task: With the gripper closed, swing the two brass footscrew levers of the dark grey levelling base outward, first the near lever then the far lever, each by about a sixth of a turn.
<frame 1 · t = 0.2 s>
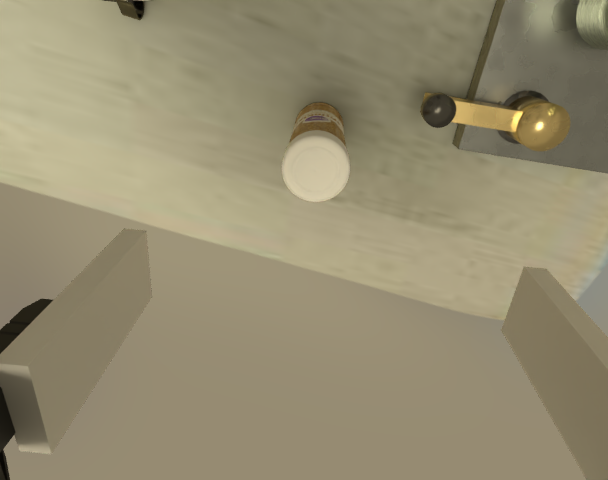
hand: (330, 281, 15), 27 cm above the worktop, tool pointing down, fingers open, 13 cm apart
levelling base: (590, 5, 35), on the worktop
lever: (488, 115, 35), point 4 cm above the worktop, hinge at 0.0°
sprinkles bottle: (318, 126, 40), on the worktop
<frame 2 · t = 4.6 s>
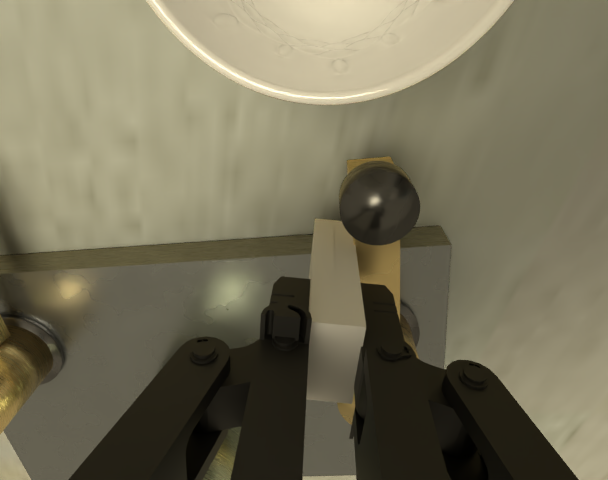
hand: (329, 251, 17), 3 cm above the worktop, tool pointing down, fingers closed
levelling base: (211, 359, 25), on the worktop
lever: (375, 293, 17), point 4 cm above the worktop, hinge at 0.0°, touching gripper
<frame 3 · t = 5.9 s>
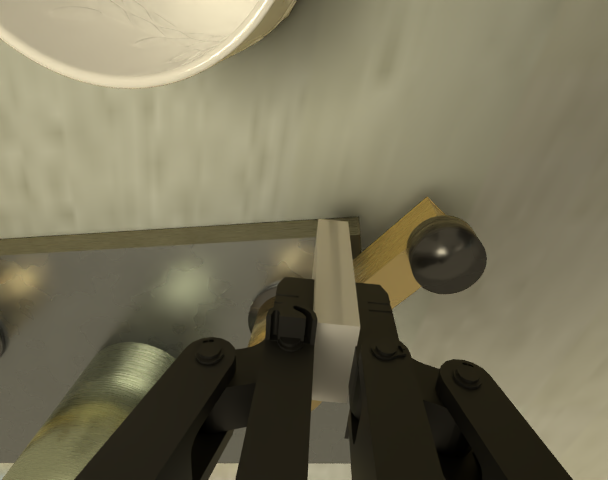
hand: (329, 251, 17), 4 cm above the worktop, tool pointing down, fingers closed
levelling base: (151, 346, 26), on the worktop
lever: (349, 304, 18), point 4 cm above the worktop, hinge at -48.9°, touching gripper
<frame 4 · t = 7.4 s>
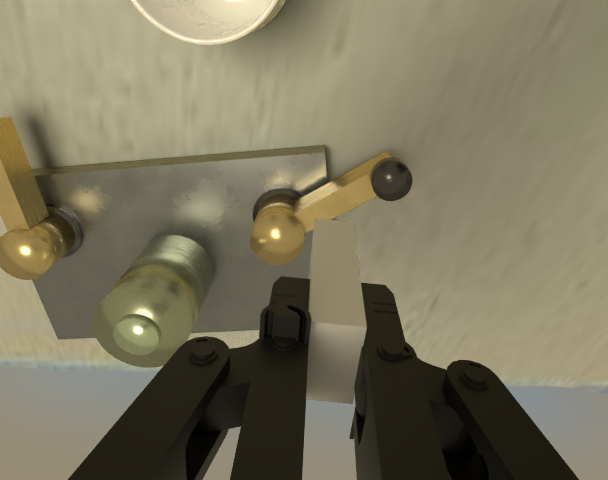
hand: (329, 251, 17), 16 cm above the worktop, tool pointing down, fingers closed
levelling base: (182, 246, 36), on the worktop
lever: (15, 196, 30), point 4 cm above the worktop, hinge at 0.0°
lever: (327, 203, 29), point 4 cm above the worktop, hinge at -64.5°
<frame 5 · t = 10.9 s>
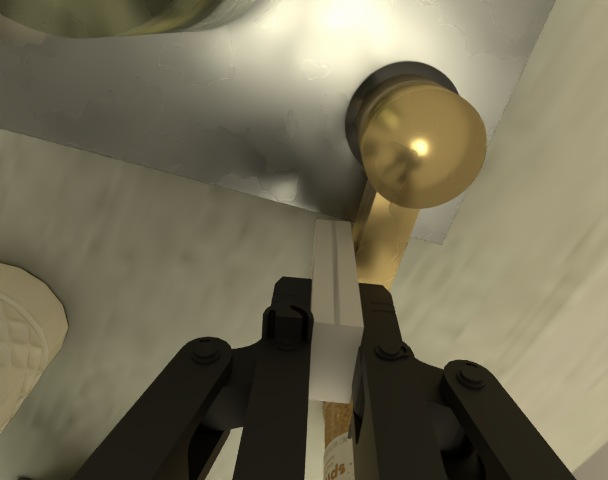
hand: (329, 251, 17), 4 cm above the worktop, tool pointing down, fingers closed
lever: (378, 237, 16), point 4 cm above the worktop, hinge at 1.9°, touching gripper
sprinkles bottle: (359, 404, 26), on the worktop
white cup: (12, 309, 25), on the worktop
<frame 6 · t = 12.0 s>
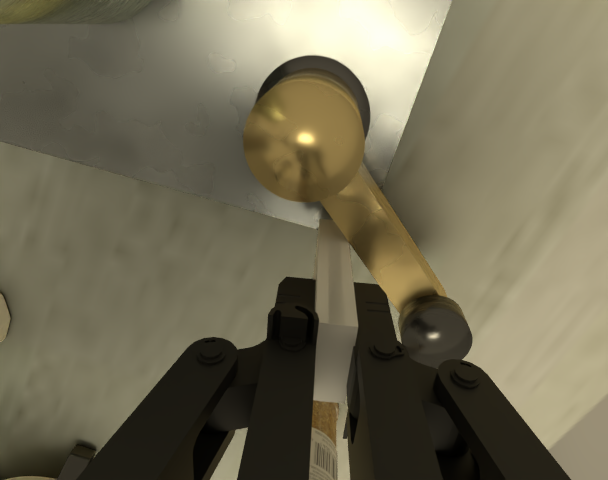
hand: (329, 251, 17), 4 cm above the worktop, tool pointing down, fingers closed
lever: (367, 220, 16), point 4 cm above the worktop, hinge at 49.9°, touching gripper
sprinkles bottle: (302, 402, 26), on the worktop
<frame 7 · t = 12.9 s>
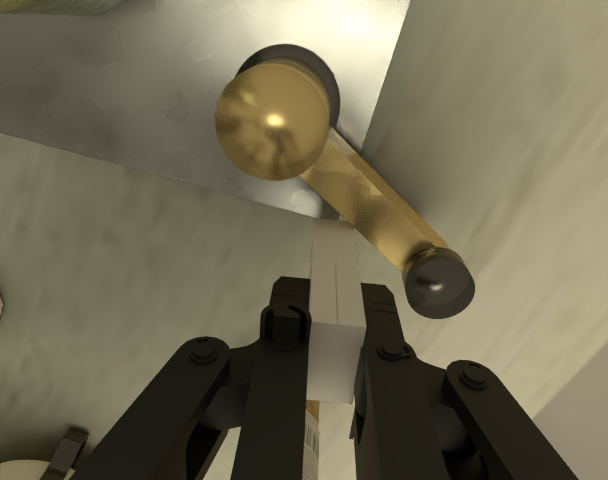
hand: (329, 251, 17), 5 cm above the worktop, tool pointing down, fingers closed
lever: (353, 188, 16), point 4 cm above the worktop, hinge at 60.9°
sprinkles bottle: (287, 383, 27), on the worktop
coffee press: (52, 474, 33), on the worktop
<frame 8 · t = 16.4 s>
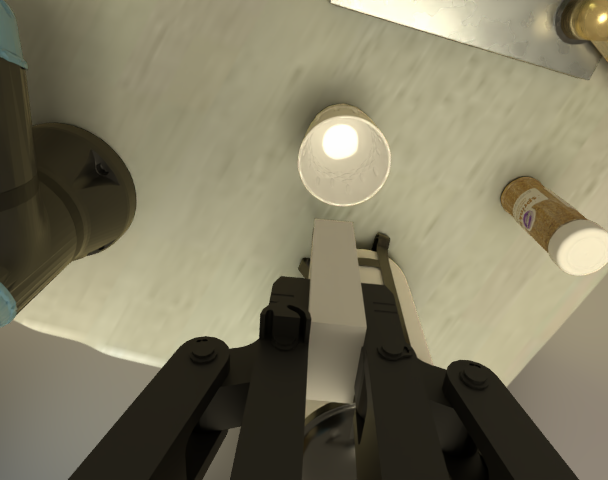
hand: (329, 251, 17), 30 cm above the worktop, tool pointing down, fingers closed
sprinkles bottle: (520, 195, 48), on the worktop
white cup: (340, 135, 46), on the worktop
coffee press: (349, 274, 53), on the worktop
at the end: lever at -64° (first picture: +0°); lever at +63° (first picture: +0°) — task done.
